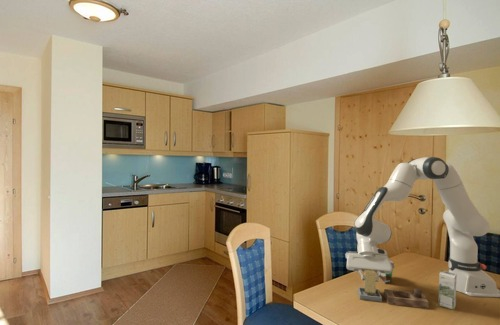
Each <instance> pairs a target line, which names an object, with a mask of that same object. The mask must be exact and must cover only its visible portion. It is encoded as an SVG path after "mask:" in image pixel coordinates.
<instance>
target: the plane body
mask: <svg viewBox="0 0 500 325" xmlns="http://www.w3.org/2000/svg"><path fill="white" fill-rule="evenodd" d="M383 290H384V291H383V293H384V294H383V295H384V299H385V300H386V303H387V305H397V306H404V307H411V308H412V307H413V308H420V309H427V310H428V309H429V301H428V299H427V298H426V297H425V295H424V293H423V292H422V289H421V288H414V289H413V291H405V290H397V289H396V290H395V289H387V288H385V289H383Z"/></svg>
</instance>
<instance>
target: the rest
mask: <svg viewBox="0 0 500 325" xmlns="http://www.w3.org/2000/svg"><path fill="white" fill-rule="evenodd" d="M357 292H358V298H359V300H361V301H370V302H377V303H378V302H379V303H382V302H383V297H382V295H381V292H380V289H378V288H376V295H374V294H365V292H364V287H360V286H359V287H357Z"/></svg>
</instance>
